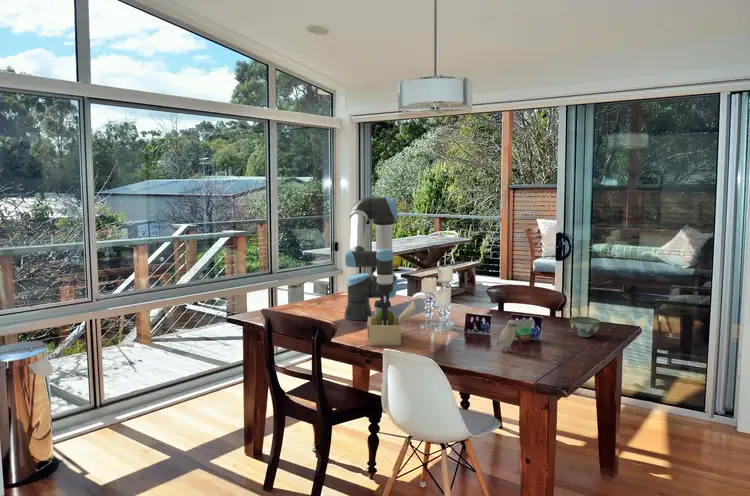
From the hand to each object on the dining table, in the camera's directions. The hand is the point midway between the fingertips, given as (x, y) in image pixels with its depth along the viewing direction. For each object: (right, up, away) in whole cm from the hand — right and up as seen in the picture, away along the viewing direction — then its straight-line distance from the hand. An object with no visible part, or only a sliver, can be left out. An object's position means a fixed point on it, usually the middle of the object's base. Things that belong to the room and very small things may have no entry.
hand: (384, 331), depth 285 cm
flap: (+7, +5, -1) cm, 9 cm away
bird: (+52, -7, -20) cm, 56 cm away
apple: (0, -1, 0) cm, 1 cm away
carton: (0, -4, 0) cm, 4 cm away
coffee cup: (-1, -3, +17) cm, 18 cm away
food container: (+64, -4, 0) cm, 64 cm away
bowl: (+94, -3, +7) cm, 94 cm away
